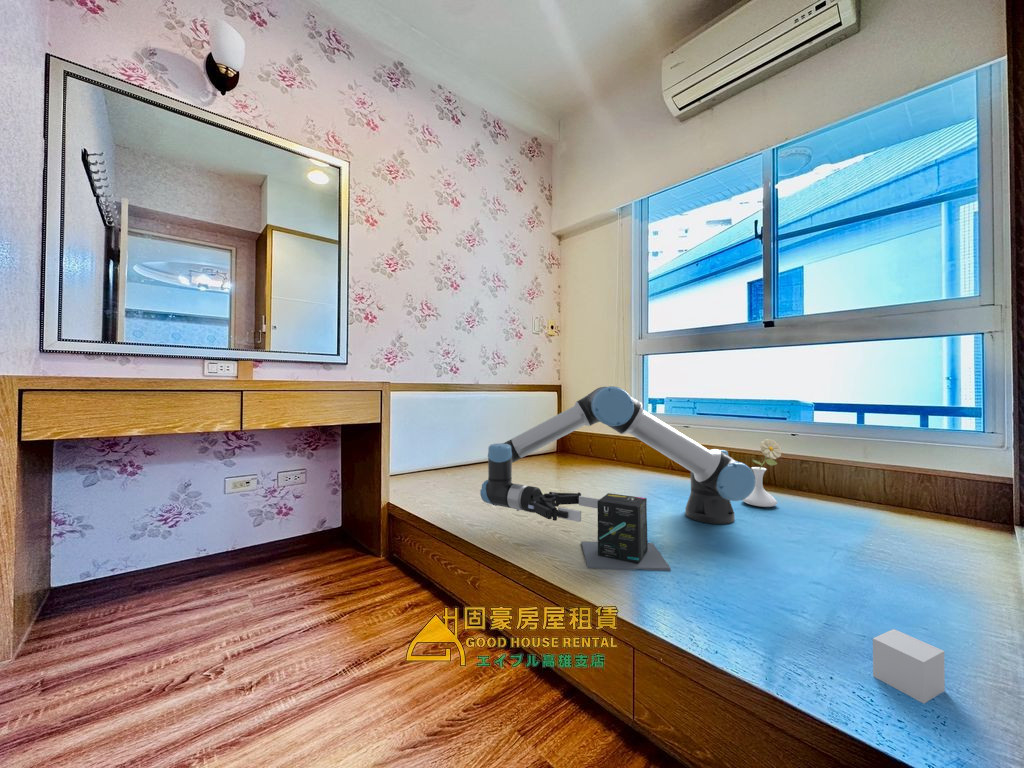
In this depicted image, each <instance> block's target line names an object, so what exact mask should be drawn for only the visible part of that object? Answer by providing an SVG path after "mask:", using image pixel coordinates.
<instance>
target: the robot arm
mask: <svg viewBox="0 0 1024 768" xmlns="http://www.w3.org/2000/svg"><path fill="white" fill-rule="evenodd" d="M598 423H602V424H603V425H606V426H607V427H610V428H611V429H613V430H614V431H615V432H617V433H619V434H620V435H625V434H629V435H631V436H633V438H636V439H638V440H640V441H641V442H642V443H644V444H646V445H647V446H649V447H651V448H652V449H654V450H656V451H657V452H659V453H660V454H662V455H664V456H665V457H667V458H668V459H670V460H672V461H673V462H675V463H677V464H679V465H680V466H682V467H683V468H685V469H686V470H688V471H690V494H689V497H688V500H687V503H686V506H685V507H684V508H685V516H686V517H688V518H689V519H691V520H693V521H696V522H697V521H698V522H701V523H705V524H706V523H707V524H715V525H716V524H717V525H723V524H724V525H725V524H731V523H733V522H735V518H736V517H735V511H734V509H733V505H732V503H731V501H732V502H739V501H743V499H745V498H747V497H748V496H749V495H750V494H751V493H752V492H753V490H754V487H755V484H756V480H755V474H754V471H753V470H752V468H751V467H750V466H748V465H747V464H746V463H744V462H741V461H737V460H735V459H734V458H733V457H731V456H730V455H729V452H728V451H727V450H725V449H718V448H717V449H716V448H713V449H708V448H707V447H705V446H703V445H701V444H700V443H698V442H697V441H695V440H694V439H692V438H690V437H688V436H687V435H685V434H684V433H682V432H680V431H678V430H677V429H676V428H674V427H673V426H671V425H669V424H667V423H666V422H664V421H662V420H661V419H659V418H657V416H654V415H653V414H651V413H649V412H648V411H646V410H645V409H644V408H643V403H642V402H640V401H639V400H637V399H635V398H634V397H633V396H631V395H630V393H628V391H626V390H625V389H623V388H621V387H618V386H614V385H613V386H612V385H610V386H600V387H597V388H595V389H594V390H593V391H591V392H590V393H588V394H587V395H585V396H583V397H582V398H580V399H578V400H577V401H575V404H574V405H573V406H571V407H570V408H567V409H566V410H564V411H563V412H562V411H561V412H560V413H558V414H556V415H554V416H553V417H551V418H548V419H547V420H545V421H543V422H540V423H539V424H537V425H535V426H533V427H532V428H530V429H528V430H526V431H524V432H522V433H520V434H518V435H517V436H514V437H512V438H511V439H509V440H507V441H505V442H502V443H500V442H499V443H492V444H490V445H488V448H487V449H488V452H487V459H488V460H487V461H488V462H487V463H488V466H487V467H488V469H487V471H488V478H487V479H486V480H484V482H483V483H482V484H481V489H480V490H479V491H480V493H479V494H480V497H481V500H482V501H483V502H484V503H486V504H490V505H492V506H494V507H495V506H498V507H503V508H507V509H514V510H516V511H517V512H519V511H524V512H527V513H535V514H537V515H539V516H541V517H543V518H545V519H547V520H552V521H553V522H555V521H557V520H558V519H563V520H568V521H573V522H578V523H581V522H582V511H581V510H577V509H572V508H567V507H561V505H578V506H580V507H585V508H592V509H597V510H598V503H597V502H598V500H600V499H601V498H596V497H590V496H584V495H582V493H581V492H576V493H575V492H554V491H549V492H548V493H547V492H546V493H544V494H543V492H542V490H541V489H540V488H539V487H537V486H532V485H525V484H519V483H512V482H513V481H512V479H513V478H512V476H513V475H512V469H513V466H512V465H513V463H515V462H516V461H519V460H520V459H522V458H524V457H526V456H528V455H529V454H532V453H534V452H536V451H538V450H540V449H541V448H544V447H545V446H547V445H549V444H551V443H553V442H555V441H557V440H559V439H561V438H562V437H566V436H567V435H569V434H571V433H572V432H573V433H574V432H575V431H576V430H579V429H580V428H583V427H584V426H586V427H590V426H591V427H592V425H595V424H598Z"/></svg>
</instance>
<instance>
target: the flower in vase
mask: <svg viewBox="0 0 1024 768" xmlns="http://www.w3.org/2000/svg"><path fill="white" fill-rule="evenodd" d="M759 445H760V446H759V447H760V452H762V454H763V456H764V457H765V458H764V460H763V462H760V461H757V460H756V459H754V458H752V462H753V463H755V464H758V465H760V466H752V467H750V469H751V470H752V471H753V473H754V475H755V480H756V482H755V487H754V490H753V492H752V493H751V494H750V495H749V496H748V497H747V498H745V499H743V500H742V501H743V502H744V503H746V504H748V505H751V506H753V507H754V506H755V507H762V508H771V507H775V506H777V504H778V501H777V500H776V498H775V497H773V495H772V494H770V493H769V492H767V491H766V490H765V488H764V485H763V479H764V478H763V477H764V475H765V473H766V471H767V470H768V468H765V467H763V465H764V464H765V463H766V464H767V465H769V466H771V467H772V466H775V465H777V464H778V462H776V459H778V458H780V457H782V453H783V451H782V448H781V446H780V444H778V443H777V441H776V440H774V439H769V438H766V439H763V441H761V442H760V444H759Z"/></svg>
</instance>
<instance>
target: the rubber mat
mask: <svg viewBox="0 0 1024 768" xmlns="http://www.w3.org/2000/svg"><path fill="white" fill-rule="evenodd" d="M581 547H582V551H583V554H584V558H585V562H587V563H586V566H588V567H587V569H588V568H597V569H596V570H623V569H643V570H642V571H661V570H662V571H663V570H666V572H667V571H670V572H671V571H672V570H671V569H672V567H670V565H669V564H668V562H667V561H666V560H665V558H664V557H663V556H662V554H661V553H660V551H659V550H658V548H657V546H656V545H655V544H654V543H653V542H648V551H647V552H646V554H645V555H644V557H643V558H642V559H641V561H640V562H639V564H637V563H632V562H627V561H622V560H617V559H613V558H608V557H603V556H598V541H583V540H582V541H581ZM598 568H599V569H598Z"/></svg>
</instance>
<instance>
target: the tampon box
mask: <svg viewBox="0 0 1024 768" xmlns="http://www.w3.org/2000/svg"><path fill="white" fill-rule="evenodd" d="M599 499H600V500H598V502H597V503H598V509H597V542H598V556H603V557H608V558H613V559H617V560H622V561H627V562H632V563H637V564H639V562H640V561H641V559H642V558H643V557H644V555H645V554H646V552H647V551H648V543H649V542H648V519H647V518H648V516H647V515H648V513H647V506H648V505H647V502H648V501H647V497H640V496H635V495H634V496H633V495H625V494H616V493H610V492H608V493H607V494H605V495H604V496H602V497H601V498H599Z"/></svg>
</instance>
